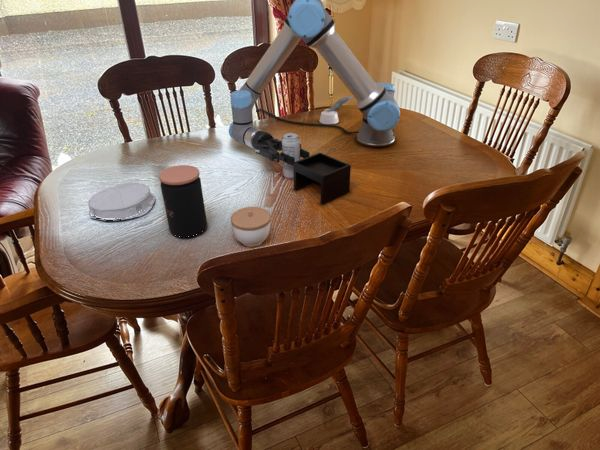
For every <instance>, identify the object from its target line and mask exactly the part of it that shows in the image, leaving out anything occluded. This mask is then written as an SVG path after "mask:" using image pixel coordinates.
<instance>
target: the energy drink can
mask: <svg viewBox="0 0 600 450" xmlns="http://www.w3.org/2000/svg"><path fill="white" fill-rule="evenodd" d="M282 138H283V139H282ZM282 138H281V140H282V150H281V152H283V153H285V154H287V155H289V156H291V157H294V159H295V162H296V161H299V160H301V157H300V144H301V139H300V138H299V135H298V134H297V133H295V132H294V133H293V132H289V133H285V134H283V136H282ZM293 171H294V170H293V166H292V165H290V164H288V163H285V162H282V175H283V176H284V178H285V179H287V180H294V172H293Z"/></svg>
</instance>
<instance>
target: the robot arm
mask: <svg viewBox="0 0 600 450" xmlns="http://www.w3.org/2000/svg"><path fill="white" fill-rule="evenodd" d="M301 40H302V41H303V42H304V44H306V46H307V47H308V48H314V49H315V50H316V51H317V52H318V53H319V55H320V56H321V57H322V58H323V60H324V61H325V62H326V64H327V65H328V66H329V67H330V69H331V70H332V71H333V72H334V73H335V74H336V76H337V77H338V78H339V80H340V81H341V82H342V83H343V84H344V86H345V87H346V88H347V90H348V91H349V92H350V93H351V94H352V97H353V98H354V99H356V101H357V105H356V107H357V109H358V111H360V113H362V118H361V119H362V122H361V124H360V127H359V130H356V131H355V130H354V131H348V130H346V129H345V128H344V127H343V126H340V125H337V124H322V123H311V122H303V121H302V122H301V121H294V120H289V119H285V118H282V117H279V116H277V115H275V114H273V113H271V112H269V111H267V110H265V109H263V108H258V109H256V110H255V113H258V112H263V113H265V114H267V115H269V116H272V117H273V118H275V119H277V120H278V121H281V122H286V123H289V124H294V125H303V126H313V127H314V126H316V127H326V128H327V127H328V128H336V129H339V130H341V131H343V132H344V133H345V134H347V135H354V134H356V142H357V143H358V144H359V145H361V146H365V147H369V148H385V147H386V148H387V147H389V146H392V145H393V144H394V143H395V140H396V139H395V138H396V136H395V129H394V128H395V127H396V126H397V125H398V123H399V121H400V119H401V108H400V106H399V105H398V103H397V101H396V99H395V93H396V87H395V85H394V84H393V83H389V82H375V80H374V79H373V78H372V77H371V75H370V74H369V73H368V71H367V70H366V69H365V68H364V66H363V65H362V64H361V62H360V61H359V59H358V58H357V57H356V56H355V54H354V53H353V52H352V50H351V49H350V48H349V47H348V45H347V44H346V42H345V41H344V39H342V37H341V36H340V35H339V34H338V32H337V31H336V22H335V20H334V19H333V18H332V16H331V15H330V14H329V12H328V11H327V10H326V8H325V6H324V3H323V1H322V0H294V1H293V2H292V4H291V5H290V7H289V10H288V14H287V16H286V17H285V19H283V26H282V28H281V29H280V31H279V32H278V34H277V35H276V37H275V38H274V39H273V41H272V43H271V44H270V46H269V47H268V48H267V50H266V51H265V53H264V54H263V56H262V57H261V59H260V60H259V62H258V63H257V64H256V66H255V67H254V68H253V70H252V71H251V73H250V74H249V75H248V77H247V79H246V81H245V82H244V83H243V85H242V86H241V87H240V88H239V89H238V90H235V91H232V92H231V93H230V107H231V115H232V122H231V123H230V125H229V128H228V135H229V137H230V138H231V139H233V140H234V141H235V142H237V143H239V144H243V145H245V146H247V147H249V148H251V149H253V150H255V151H254V152H255V154H256V155H260V156H261V157H263V158H265V159H267V160H268V161H270V162H275V161H276V163H280V162H282V163H283V162H285V163H288V164H290V165H292V166H293V163H294V162H295V159H294V157H291V156H289V155H287V154H285V153H283V152H282V139H283V137H281V139H278V138H274V136H273V135H272V134H271V133H270V132H267V131H265V130H262V129H260V128H257V127H255V126H254V118H253V117H254V115H253V109H254V106H255V104H256V102H257V101H258V100H259V98H260V97H261V95H262V94H263V92H264V91H265V89H266V88H267V87H268V86H269V84H270V83H271V81H272V80H273V79H274V77H275V76H276V74H277V73H278V71H279V70H280V69H281V67H282V66H283V65H284V63H285V62H286V60H287V59H288V58H289V57H290V56H291V53H292V52H293V51H294V49H295V48H296V47H297V46H298V44H299V42H300V41H301ZM309 156H310V151H307V150H305V149H303V148H302V144H301V143H300V158H302V159H304V158H307V157H309Z"/></svg>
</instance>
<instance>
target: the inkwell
mask: <svg viewBox="0 0 600 450" xmlns="http://www.w3.org/2000/svg"><path fill="white" fill-rule="evenodd" d="M354 99H355V97H354V96H351V95H350V96H349V95H348V96H343V97H342V98H340V99H338V100H337V101H336V102H334V103H333V104H332V106H331V107H330V108H325V109H324V110H323V111H321V113H320V116H319V119H318V122H319V124H326V125H337V124H338V123H339V122H340V118H339V115H338V112H337V111H338V110H340V109H341V107H343V105H344V104H347V102H349V101H351V100H354Z"/></svg>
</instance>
